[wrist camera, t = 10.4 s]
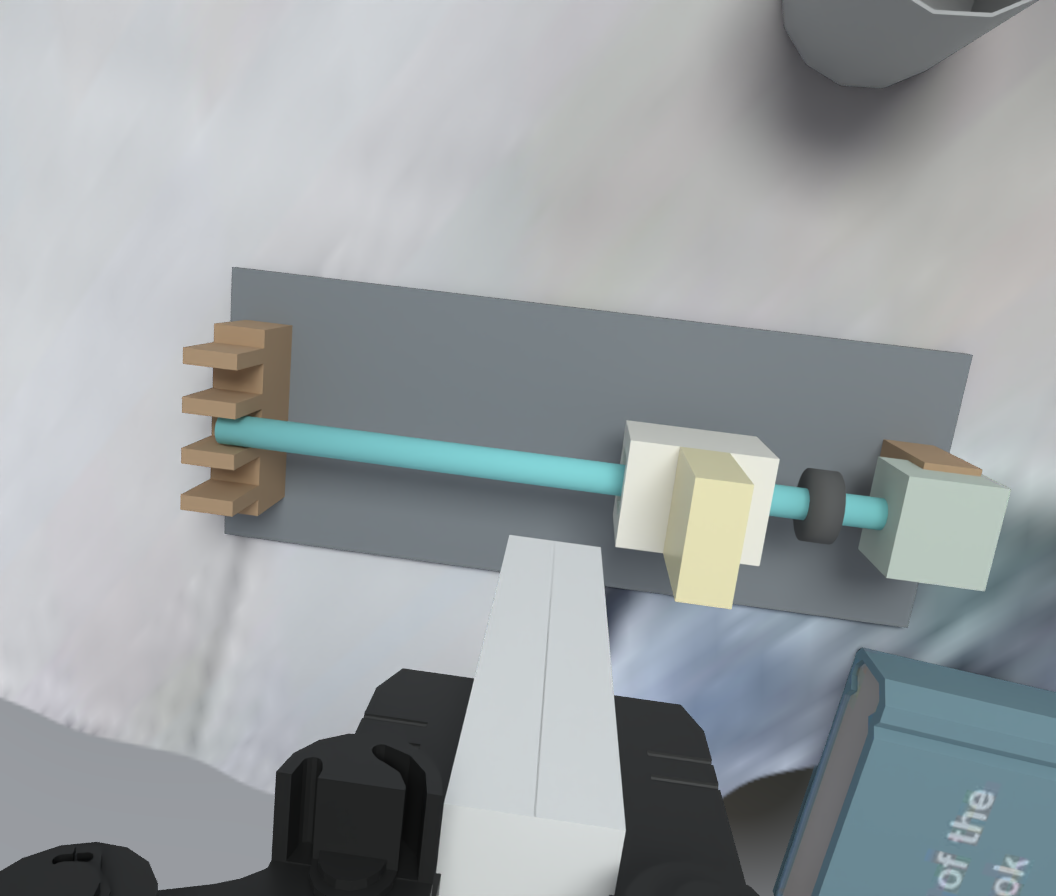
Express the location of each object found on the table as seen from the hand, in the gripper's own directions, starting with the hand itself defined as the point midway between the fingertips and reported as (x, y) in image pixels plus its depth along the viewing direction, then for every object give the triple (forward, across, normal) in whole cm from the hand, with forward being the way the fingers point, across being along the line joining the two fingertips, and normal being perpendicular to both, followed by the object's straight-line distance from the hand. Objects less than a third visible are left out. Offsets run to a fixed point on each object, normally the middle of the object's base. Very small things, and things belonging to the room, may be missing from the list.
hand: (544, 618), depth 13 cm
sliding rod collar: (+24, +6, -3) cm, 25 cm away
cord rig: (+27, +1, -3) cm, 27 cm away
